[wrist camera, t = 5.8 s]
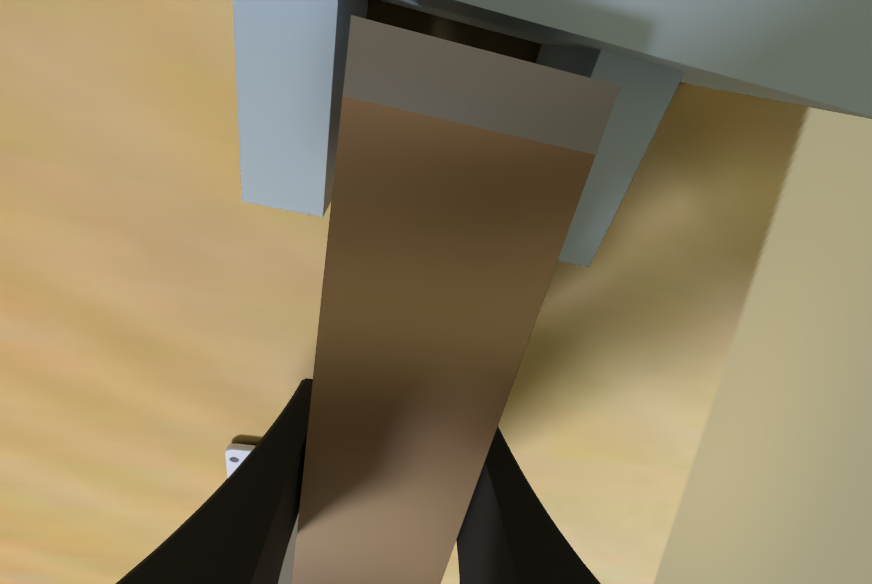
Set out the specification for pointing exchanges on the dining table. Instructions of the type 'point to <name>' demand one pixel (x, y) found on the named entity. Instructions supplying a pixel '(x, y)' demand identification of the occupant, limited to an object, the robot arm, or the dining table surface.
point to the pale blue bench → (561, 49)
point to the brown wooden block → (430, 288)
